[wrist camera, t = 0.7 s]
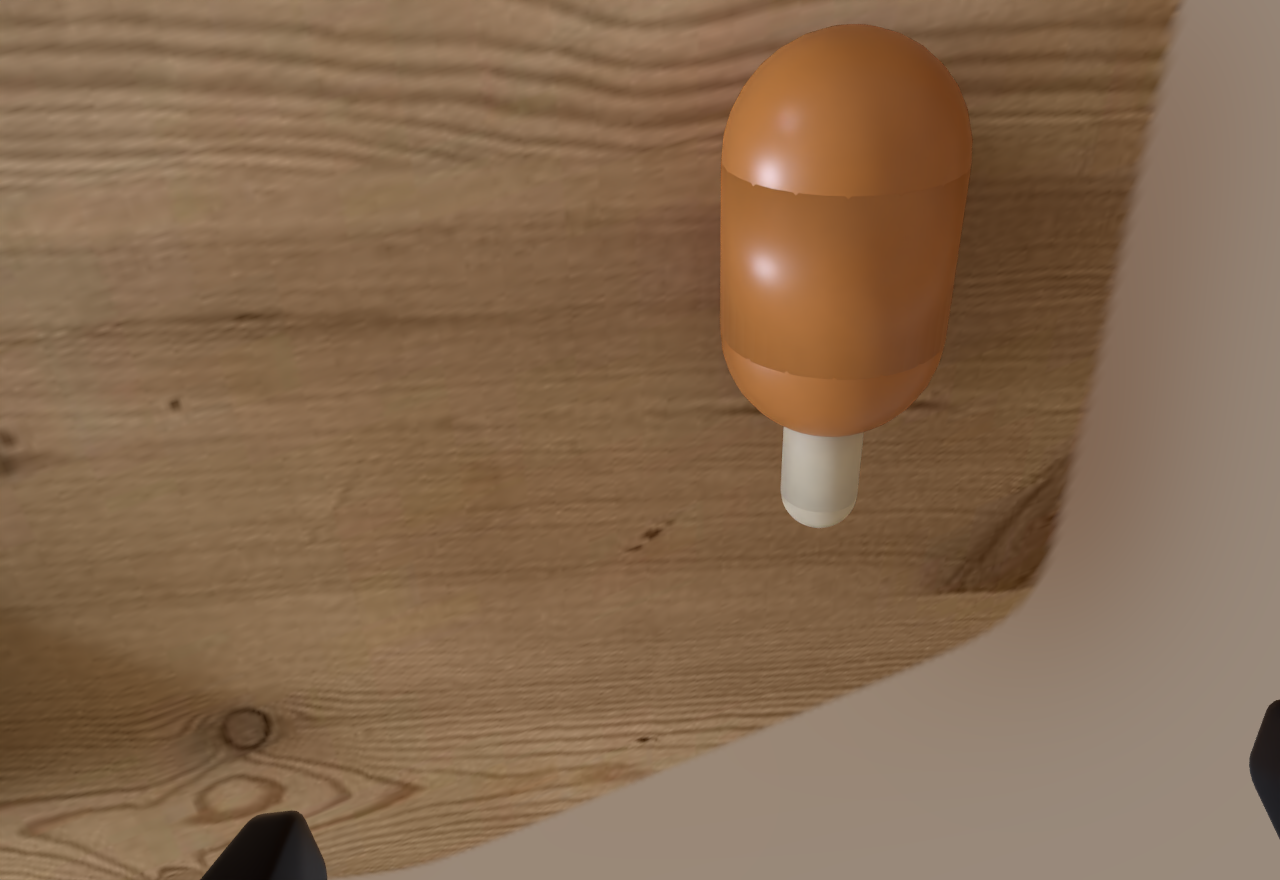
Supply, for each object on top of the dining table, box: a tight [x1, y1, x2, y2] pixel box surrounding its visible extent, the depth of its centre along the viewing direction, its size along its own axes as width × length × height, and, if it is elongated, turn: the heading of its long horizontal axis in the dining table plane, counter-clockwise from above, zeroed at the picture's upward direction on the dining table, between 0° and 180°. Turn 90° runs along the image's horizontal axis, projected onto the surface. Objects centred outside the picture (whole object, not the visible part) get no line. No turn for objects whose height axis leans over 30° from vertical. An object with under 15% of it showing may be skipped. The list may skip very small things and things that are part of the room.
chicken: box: [720, 24, 973, 528], centre depth 18 cm, size 10×4×4 cm, turn 2°
